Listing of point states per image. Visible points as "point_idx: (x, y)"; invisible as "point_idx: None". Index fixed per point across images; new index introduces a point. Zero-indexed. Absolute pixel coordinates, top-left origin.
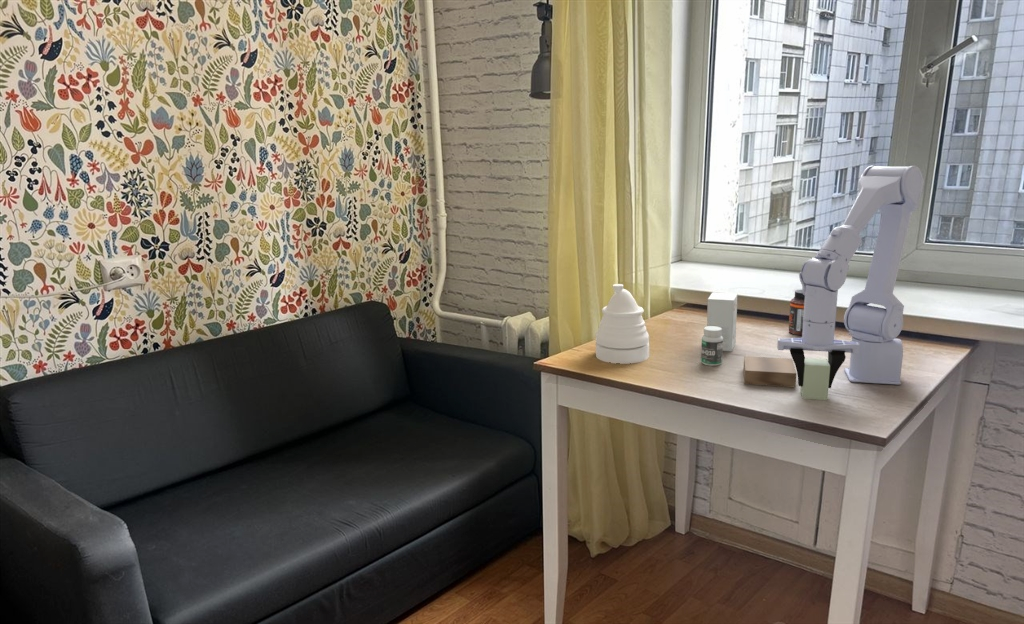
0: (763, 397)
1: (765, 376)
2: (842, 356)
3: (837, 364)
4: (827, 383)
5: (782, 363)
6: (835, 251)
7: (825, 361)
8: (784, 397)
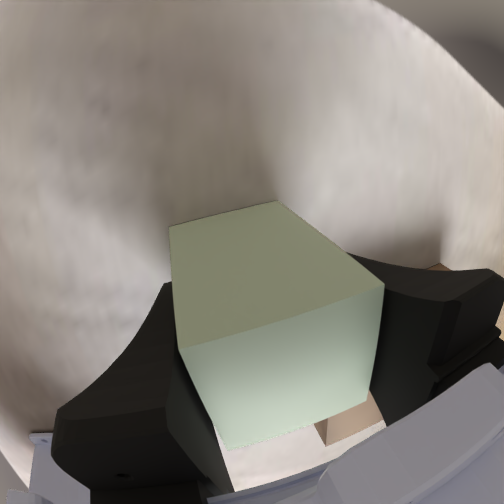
0: (409, 155)
1: None
2: (69, 452)
3: (118, 380)
4: (178, 263)
5: (360, 406)
6: None
7: (231, 420)
8: (346, 182)
